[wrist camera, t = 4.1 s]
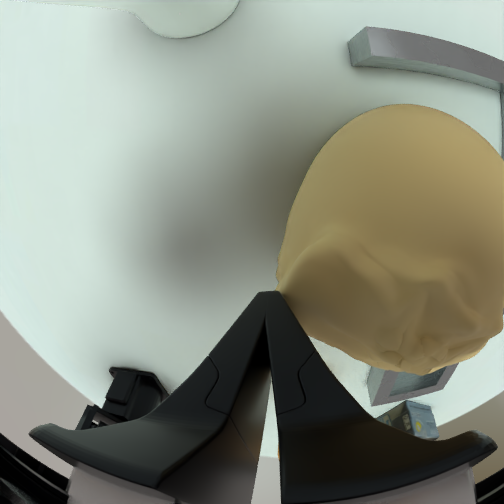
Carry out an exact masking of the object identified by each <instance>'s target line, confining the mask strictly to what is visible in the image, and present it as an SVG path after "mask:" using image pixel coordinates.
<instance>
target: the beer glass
mask: <svg viewBox="0 0 504 504" xmlns="http://www.w3.org/2000/svg"><path fill="white" fill-rule="evenodd" d="M10 1H22V2H32V3H40V4H55V5H68V6H82V7H94V8H105V9H114V10H120V11H125V12H129V13H132V14H134V15H135V16H137V17H138V18H139V19H140V21H141V22H142V23H143V24H144V25H145V26H146V27H147V28H148V29H149V30H151V31H152V32H154V33H156V34H158V35H160V36H163V37H168V38H188V37H193V36H197V35H200V34H203V33H205V32H208V31H210V30H212V29H214V28H215V27H217V26H218V25H220V24H221V23H223V22H224V21H225V20H226V19H227V18H228V17H229V16H230V15H231V14H232V13H233V11H234V10H235V9H236V7H237V5H238V3H239V0H10Z"/></svg>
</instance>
